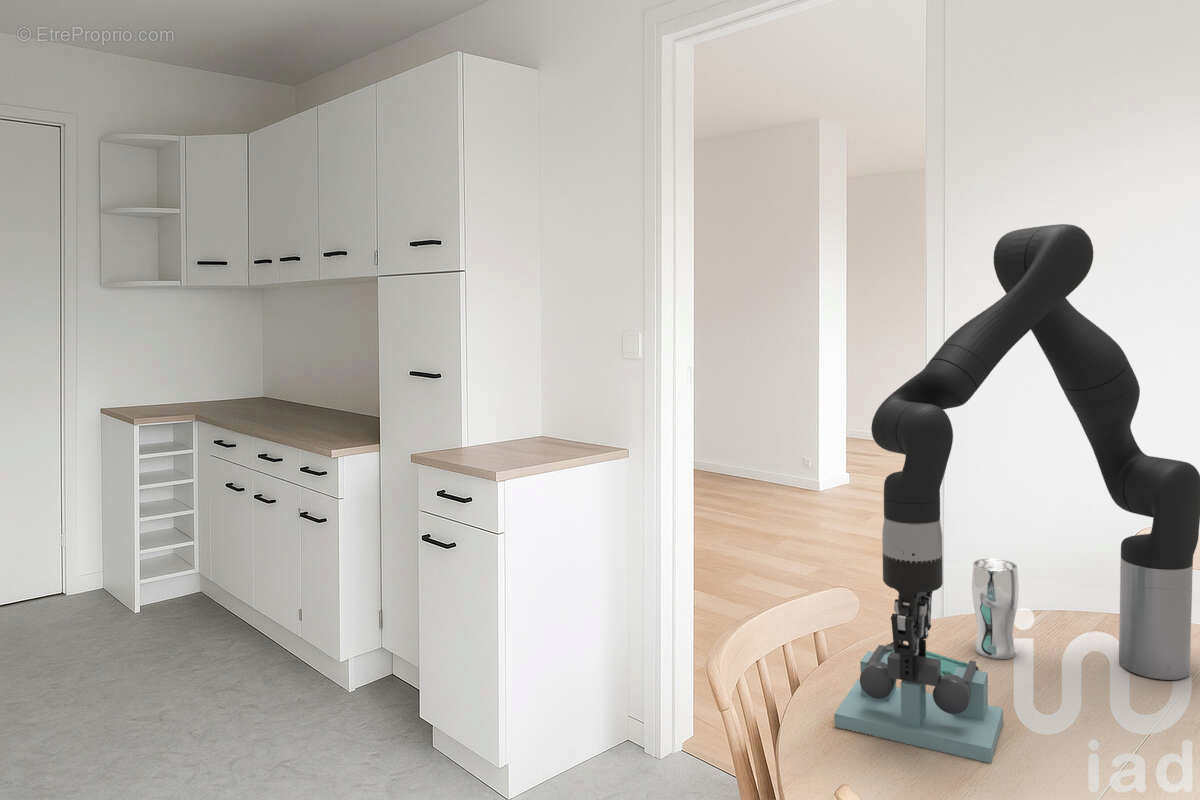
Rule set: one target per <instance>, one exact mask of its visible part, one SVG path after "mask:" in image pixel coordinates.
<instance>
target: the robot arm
mask: <svg viewBox="0 0 1200 800" xmlns="http://www.w3.org/2000/svg"><path fill="white" fill-rule="evenodd" d="M1093 262H1094V246H1093V242H1092V240H1091V238H1090V236H1089V235H1088V233H1087V232H1086V231H1085V230H1084V229H1083V228H1082V227H1079V226H1077V225H1075V224H1066V223H1064V224H1063V223H1061V224H1059V223H1057V224H1049V225H1042V226H1041V225H1040V226H1033V227H1027V228H1026V227H1025V228H1021V229H1020V228H1019V229H1016V230H1012V231H1010V232H1006V233H1005V234H1004V235H1002V236H1001V237H1000V238H999V239H998V241H997V243H996V244H995V247H994V250H993V267H994V270H995V275H996V277H997V280H998V282H999V284H1000V286H1001V287H1002V289H1003V290H1004V292H1005V293H1006V294H1005V295H1004V296H1002V297H1001V298H999V299H998V300H997V301H996V302H994V303H993V304H992V305H991V306H989V307H987V308H986V309H985V310H983V311H981V312H980V313H979V314H977V315H976V316H974V317H973V318H971V319H970V320H968V321H967V322H966V323H964V324H963V325H961V326H960V327H959V328H958V329H957V330H956V331H954V332H953V333H952V334H951V335H950V336H949V337H948V338H947V339H946V341H944V343H943V344H942V345H941V346H940V348H939V349H938V350H937V351H936V352H935V354H934V355H933V357H932V358H931V359H930V360H929V362H928V363H927V364H926V365H925V367H924V368H923V369H922V370H921V371H920V372H918V373H917V374H916V375H914V376H913V377H911V378H910V379H908V381H906V382H905V383H903V384H902V385H901V386H900V387H898V388H897V389H896V390H895V391H893V392H892V393H891V394H890V395H889V396H888V397H887V398H886V399H884V401H883V402H882V403H880V405H879V406H878V408H877V410H876V411H875V413H874V416H873V418H872V420H871V421H872V422H871V427H870V428H871V435H872V438H873V440H874V442H875V443H876V444H877V446H878V447H880V448H881V449H883V450H886V451H887V452H890V453H894V454H895V453H896V454H901V455H905V458H904V464H903V467H902V470H899V471H895V472H892V473H889V474H888V475H887V476H886V478H885V479H884V484H883V524H882V532H881V533H882V535H881V536H882V538H881V539H882V581H883V583H884V584H885V585H886V586H887V587H888V588H890V589H894V590H895V591H896V592H898V596H897V597H898V599H897V598H895V599H894V602H893V603H894V605H893V611H894V613H892V614H891V616H890V621H891V629H892V640H893V641H892V642H893V643H894V653H897V654H900V678H901V679H902V680H905V681H910V682H916V681H917V679H918V656H923V657H926V651H927V640H928V638H929V631H931V628H932V624H931V622H932V621H931V619H932V604H933V603H932V600H933V599H932V598H933V592H934V591H937V590H939V589H940V588H941V587H942V586H943V585H944V584H943V583H944V579H943V575H944V573H943V572H944V571H943V570H944V569H943V561H944V560H943V555H944V554H943V531H942V523H941V486H942V482H943V479H944V476H945V474H946V470H947V469H946V468H947V464H948V462H949V459H950V455H951V451H952V447H953V442H954V431H953V425H952V422H951V420H950V417H949V415H948V414H947V412H946V411H945V410H948V409H954V408H958V407H961V406H963V405H965V404H966V403H967V402H968V401H969V400H970V399H971V398H972V397H973V396H974V394H975V393H976V392H977V390H978V389H979V388H980V387H981V386H982V384H983V383H984V382H985V380H986V379H987V378H988V377H989V375H990V374H991V372H992V371H993V370H994V369H995V367H997V365H998V364H999V363H1000V362H1001V360H1002V359H1003V358H1004V357H1005V356H1006V355H1007V354H1008V353H1009V351H1010V350H1011V349H1013V347H1014V346H1015V345H1016V344H1017V343H1018V342H1019V341H1020V340H1021V339H1022V338H1024V336H1026V334H1027V333H1029V332H1030V331H1031V332H1032V334H1033V336H1034V338H1035V340H1036V341H1037V344H1038V345H1039V347H1040V348H1041V350H1042V352H1043V354H1044V356H1045V358H1046V359H1047V361H1048V362H1049V365H1050V367H1051V368H1052V370H1053V373H1054V374H1055V377H1056V379H1057V381H1058V384H1059V385H1060V387H1061V389H1062V391H1063V393H1064V396H1065V398H1066V399H1067V401H1068V403H1069V405H1070V406H1071V408H1072V410H1073V412H1074V413H1075V415H1076V417H1077V419H1078V421H1079V422H1080V425H1081V427H1082V429H1083V432H1084V434H1085V436H1086V438H1087V440H1088V442H1089V445H1090V447H1091V448H1092V450H1093V453H1094V456H1095V459H1096V461H1097V464H1098V467H1099V470H1100V473H1101V477H1102V479H1103V481H1104V483H1105V484H1104V485H1105V486H1106V489H1107V491H1108V494H1109V495H1110V497H1111V499H1112V501H1113V502H1114V503H1115V505H1116V506H1118V507H1119V508H1120V509H1121V510H1123V511H1126V512H1128V513H1132V514H1136V515H1140V516H1144V517H1149V518H1152V523H1151V525H1152V526H1151V530H1150V532H1149V533H1145V534H1144V533H1143V534H1136V535H1131V536H1127V537H1125V538H1124V539H1122V541H1121V544H1120V562H1119V563H1120V564H1119V565H1120V569H1119V570H1120V571H1119V572H1120V573H1119V575H1120V578H1119V579H1120V581H1119V582H1120V583H1119V584H1120V585H1119V627H1118V628H1119V631H1118V636H1119V637H1118V664H1119V666H1120V667H1122V668H1123V669H1125V670H1127V671H1128V672H1131V673H1133V674H1135V675H1139V676H1141V677H1146V678H1150V679H1156V680H1163V681H1164V680H1167V681H1168V680H1169V681H1172V680H1174V681H1175V680H1176V681H1178V680H1182V679H1185V678H1188V677H1189V676H1190V672H1191V671H1190V670H1191V669H1190V668H1191V641H1192V639H1191V638H1192V634H1191V633H1192V608H1193V607H1192V606H1193V573H1194V572H1193V569H1194V568H1193V566H1194V555H1195V552H1196V549H1197V545H1198V542H1199V537H1200V535H1199V533H1200V472H1199V471H1198V469H1197V467H1195V466H1194V465H1193V464H1192V463H1189V462H1186V461H1183V460H1177V459H1171V458H1165V457H1158V456H1150V455H1147V454H1146V453H1144V452H1143V451H1142V450H1141V448H1140V446H1139V445H1138V443H1137V441H1136V440H1135V437H1134V435H1133V432H1132V429H1131V428H1132V427H1131V424H1132V423H1133V422H1132V421H1133V419H1134V417H1135V413H1136V411H1137V408H1138V404H1139V400H1140V395H1141V393H1140V392H1141V389H1140V383H1139V381H1138V378H1137V376H1136V374H1135V372H1134V370H1133V367H1132V366H1131V363H1130V361H1129V359H1128V357H1127V356H1126V353H1125V352H1124V350H1123V349H1122V347H1121V346H1120V345H1119V343H1117V341H1116V340H1114V338H1113V337H1111V336H1110V335H1109V334H1108V333H1106V332H1105V331H1104V330H1103V329H1101V328H1100V327H1099V326H1098V325H1096V324H1095V323H1094V322H1093V321H1092V320H1090V319H1089V318H1087V317H1086V316H1085V315H1084V314H1082V313H1081V312H1079V310H1077V308H1075V306H1073V305H1072V303H1071V302H1070V301H1069V300H1068V299H1067V297H1068V296H1070V295H1071V293H1073V292H1074V291H1075V290H1076V288H1078V287H1079V286H1080V285H1081V283H1083V281H1084V280H1085V278H1086V277H1087V276H1088V274H1089V272H1090V270H1091V268H1092V265H1093ZM904 642H907V643H908V644H906V645H905V643H904ZM902 680H901V681H902Z"/></svg>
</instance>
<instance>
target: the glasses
mask: <svg viewBox="0 0 1200 800" xmlns="http://www.w3.org/2000/svg"><path fill="white" fill-rule="evenodd" d="M885 646H886V645H882V644H879V645H878V646H877V648H875V652H874V651H873V652H874V653H873V655H872V656H871V658H870V659H869V661H868V662H867V666H866V667H865V669H864V670H863V672H862V673H861V672H860V676H859V679H860V685H861V687H862V689H863V690H864V692H865V693H866V694H868V695H869V696H871V697H873V698H876V699H883V698H886V697H887V696H889V695H890V693H891V692H892V690H893V688H894V686H895V684H896V683H897V680H900V681H902V679H901V678H900V654H897V653H894V651H891V653H890V654H889V656H888V658H887V663H888V665H887V664H886V663H884V662H880V660H881V659H882V657H883V656H884V654H885ZM976 666H977V661H976V660H969V662H968V666H967V668H966V671H965V673H964V676H963V678H961V677H959V676H956V675H952V674H948V675H944V676H942V677H941V660H940V659H934V658H928V657H923V656H918V679H917V681H916V682H915V683H920V684H925V685H926V686H931V687H933V691H932V694H933V699H934V702H935V703H936V705H937V706H938V707H939V708H940V709H941V710H943V711H944V712H946V713H949V714H959V713H962V712H963V711H965V710H966V708H967V706H968V704H969V701H970V698H971V689H970V684H971V681H972V679H973V676H974V674H975V671H976ZM904 681H905V680H904ZM896 685H897V684H896Z"/></svg>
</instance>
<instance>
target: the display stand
mask: <svg viewBox="0 0 1200 800" xmlns="http://www.w3.org/2000/svg"><path fill="white" fill-rule="evenodd" d="M873 653H874V651H869V650H867V651H866V653H865V654H864V656H863V657H862V659H860V674H861V673H862V672H863V670H864V669H865V667H866V666H867V662H868V661H869V659H870V658H871V656H872V655H873ZM888 656H889V655H887V654H884V656H883V657H882V659H881V660H880V662H884V663H886V664H887V665H888V663H887V658H888ZM965 671H966V668H960V667H957V668H956V670H955V672H954V674H953V675H956V676H959V677H961V678H963V676H964V673H965ZM900 681H901V682H900V687H898V686H897V684H895V686H894V688H893V690H892V692H891V693H890V695H889V696H887V697H886V698H883V699H876V698H873V697H871V696H869V695H868V694H866V693H865V692H864V690H863V689H862V687H861V685H860V678H859V679H857V680H856V681H855V682H854V684H853V686H852V687H851V688H850V690H849V692H848V693H847V694H846V695H845V697H844V699H843V700H842V702H841V703H840V705H839V706H838V708H837V709H836V710H835V712H834V714H833V715H834V727H835V728H836V727H839V728H838V729H841V728H844V729H843V730H845V729H849V730H852V731H851V732H854V731H858V732H861V733H860V734H862V733H865V734H864V735H867V734H870V735H869V736H871V735H874V736H873V737H875V736H878V737H877V738H880V737H882V738H881V739H884V738H885V740H888V739H889V741H893V742H897V743H902V744H907V745H911V746H915V747H920V748H924V749H928V750H932V751H936V752H940V753H944V754H949V755H952V756H953V755H954V756H959V757H962V758H966V759H970V760H975V761H979V762H984V763H988V764H991V763H992V760H993V757H994V755H995V754H994V753H995V750H996V746H997V744H998V743H997V742H998V740H999V737H1000V733H1001V730H1002V727H1003V723H1004V707H1001V706H995V705H990V704H989V700H988V699H989V672H987V671H982V670H978V671H977V670H976V671H975V674H974V676H973V679H972V681H971V684H970V689H971V698H970V701H969V704H968V706H967V708H966V710H965V711H963V712H962V713H959V714H949V713H946V712H944V711H943V710H941V709H940V708H939V707H938V706H937V705H936V703H935V702H934V699H933V693H929V692H927V688H926V687H927V685H925V684H920V683H915V682H910V681H904V680H900ZM849 730H848V731H849ZM853 730H854V731H853ZM858 732H857V733H858Z"/></svg>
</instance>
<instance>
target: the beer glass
mask: <svg viewBox="0 0 1200 800" xmlns="http://www.w3.org/2000/svg"><path fill="white" fill-rule="evenodd" d="M972 566H973V568H972V577H971V578H972V579H971V592H972V593H971V596H972V603H973V608H974V613H975V617H976V618H975V619H976V625H977V635H976V640H975V644H974V650H975V652H976V653H977V654H978V655H980V656H981V657H985V658H989V659H993V660H1010V659H1012V658H1014V657H1015V656H1016V648H1015V643H1014V635H1013V633H1014V626H1015V620H1016V615H1017V612H1018V611H1017V610H1018V605H1019V596H1020V594H1019V590H1020V589H1019V588H1020V587H1019V584H1020V583H1019V575H1018V573H1019V572H1018V565H1017V564H1016V563H1014V562H1013V561H1009V560H1005V559H999V558H980V559H977V560H975V561H973V565H972Z"/></svg>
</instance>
